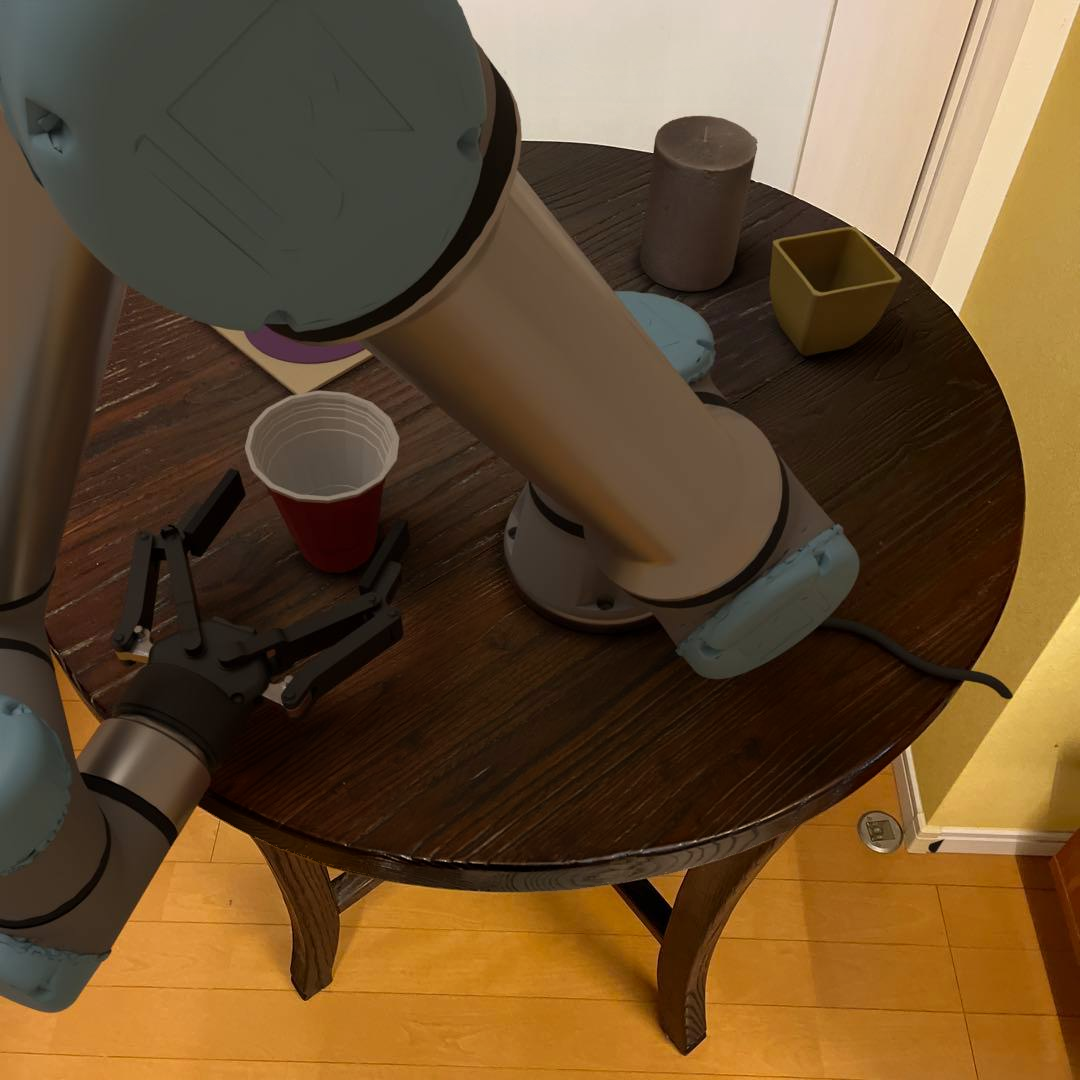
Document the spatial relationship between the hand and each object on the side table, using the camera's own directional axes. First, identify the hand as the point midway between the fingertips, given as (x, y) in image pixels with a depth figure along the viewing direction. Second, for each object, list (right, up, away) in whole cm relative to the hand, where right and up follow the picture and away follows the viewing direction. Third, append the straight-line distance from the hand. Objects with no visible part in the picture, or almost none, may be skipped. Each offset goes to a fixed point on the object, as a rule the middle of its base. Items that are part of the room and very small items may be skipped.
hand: (320, 505), depth 79 cm
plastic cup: (0, -3, +6) cm, 7 cm away
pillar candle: (+31, +26, +31) cm, 51 cm away
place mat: (-6, +18, +24) cm, 31 cm away
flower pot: (+43, +17, +24) cm, 52 cm away
